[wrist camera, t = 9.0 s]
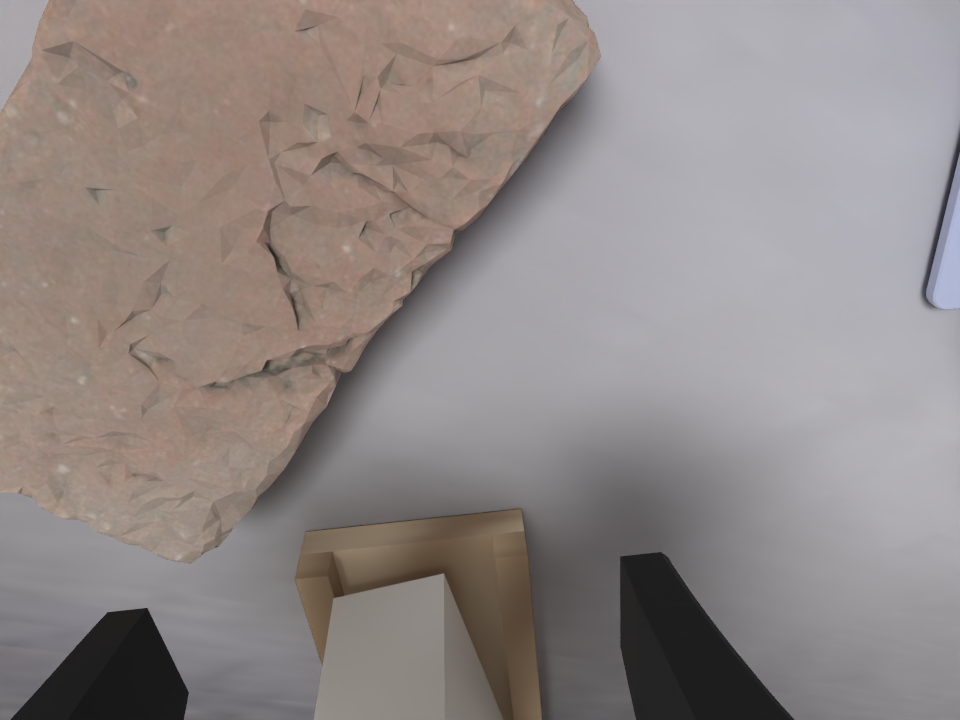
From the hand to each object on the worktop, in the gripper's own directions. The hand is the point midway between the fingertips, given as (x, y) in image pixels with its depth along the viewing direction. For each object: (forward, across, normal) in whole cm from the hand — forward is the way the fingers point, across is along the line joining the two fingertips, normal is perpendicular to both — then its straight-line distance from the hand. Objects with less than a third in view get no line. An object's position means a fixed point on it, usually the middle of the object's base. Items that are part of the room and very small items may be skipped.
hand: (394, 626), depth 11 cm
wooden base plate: (+10, +1, +12) cm, 16 cm away
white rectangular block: (+8, +1, +12) cm, 15 cm away
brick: (+10, +4, -4) cm, 12 cm away
